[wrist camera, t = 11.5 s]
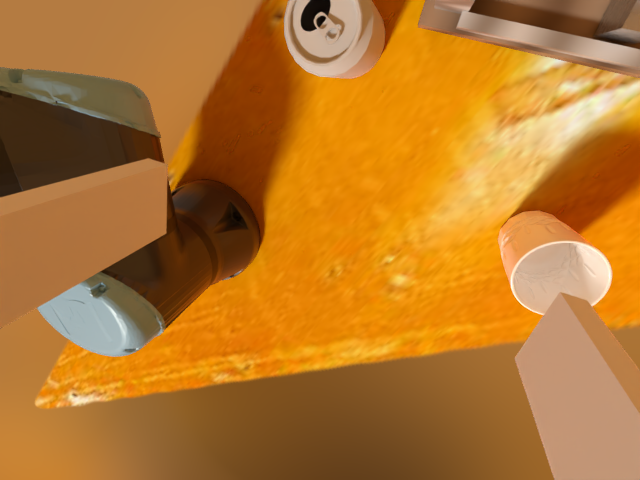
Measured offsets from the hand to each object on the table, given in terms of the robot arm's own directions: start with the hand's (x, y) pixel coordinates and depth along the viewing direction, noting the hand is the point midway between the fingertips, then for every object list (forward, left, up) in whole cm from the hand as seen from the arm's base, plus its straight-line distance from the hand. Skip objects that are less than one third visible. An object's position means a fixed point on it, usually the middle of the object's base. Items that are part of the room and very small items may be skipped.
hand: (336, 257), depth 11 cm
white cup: (+18, -7, -32) cm, 37 cm away
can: (-8, +8, -32) cm, 34 cm away
